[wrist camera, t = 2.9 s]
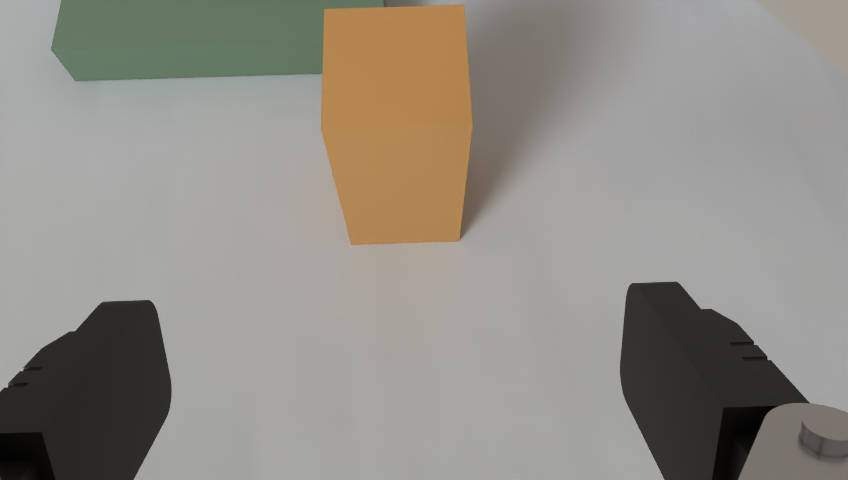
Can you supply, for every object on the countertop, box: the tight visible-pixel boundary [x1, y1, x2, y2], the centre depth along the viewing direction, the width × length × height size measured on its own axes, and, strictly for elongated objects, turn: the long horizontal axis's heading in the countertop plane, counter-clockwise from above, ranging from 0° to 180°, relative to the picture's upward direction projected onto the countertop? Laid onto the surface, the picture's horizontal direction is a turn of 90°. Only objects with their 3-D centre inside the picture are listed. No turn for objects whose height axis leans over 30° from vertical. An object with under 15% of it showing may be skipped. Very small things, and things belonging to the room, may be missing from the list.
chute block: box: [321, 5, 473, 245], centre depth 28 cm, size 5×5×10 cm
